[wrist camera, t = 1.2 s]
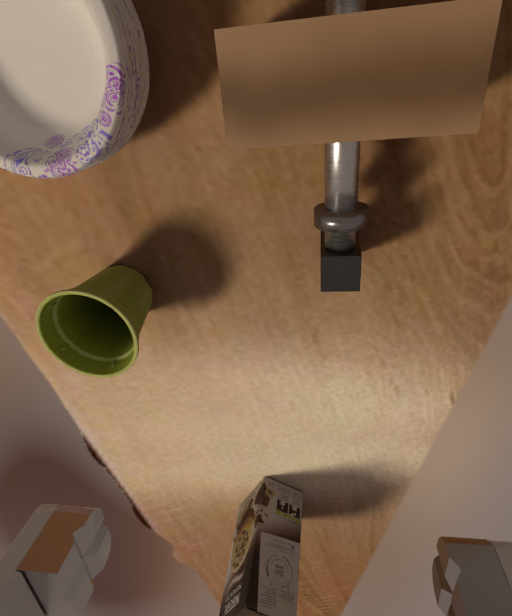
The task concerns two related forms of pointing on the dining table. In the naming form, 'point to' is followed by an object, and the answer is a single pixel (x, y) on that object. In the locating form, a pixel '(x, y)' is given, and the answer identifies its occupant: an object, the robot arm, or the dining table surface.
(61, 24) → the paper bowls
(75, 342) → the plant pot
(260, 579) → the coffee box
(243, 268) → the dining table surface
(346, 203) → the metal shaft with collar
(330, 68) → the block
